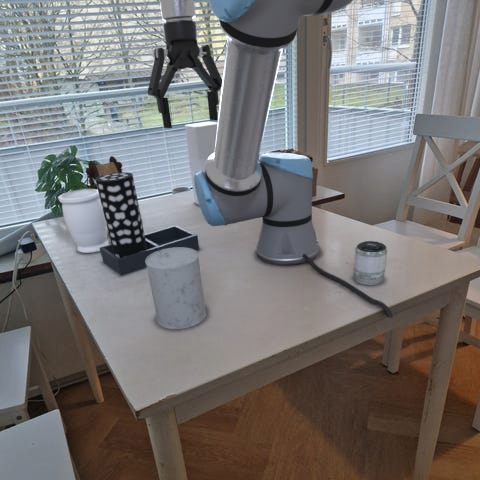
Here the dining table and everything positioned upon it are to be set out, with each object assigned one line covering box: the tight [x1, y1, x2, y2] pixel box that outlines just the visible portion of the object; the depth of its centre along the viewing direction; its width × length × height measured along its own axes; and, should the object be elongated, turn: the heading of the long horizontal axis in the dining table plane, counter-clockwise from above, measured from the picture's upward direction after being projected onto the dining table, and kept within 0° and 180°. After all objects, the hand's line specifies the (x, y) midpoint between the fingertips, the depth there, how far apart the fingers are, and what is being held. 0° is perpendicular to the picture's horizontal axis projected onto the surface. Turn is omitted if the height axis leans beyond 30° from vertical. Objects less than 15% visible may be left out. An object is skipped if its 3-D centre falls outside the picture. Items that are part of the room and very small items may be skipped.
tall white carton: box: [184, 121, 218, 206], centre depth 142 cm, size 9×9×25 cm
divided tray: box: [99, 224, 200, 277], centre depth 110 cm, size 11×22×4 cm, turn 127°
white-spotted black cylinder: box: [94, 171, 148, 259], centre depth 103 cm, size 8×8×20 cm
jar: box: [57, 188, 110, 254], centre depth 115 cm, size 11×10×15 cm
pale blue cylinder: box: [145, 247, 207, 330], centre depth 80 cm, size 10×10×12 cm
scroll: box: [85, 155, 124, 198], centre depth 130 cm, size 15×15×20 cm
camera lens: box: [353, 240, 388, 286], centre depth 89 cm, size 6×6×8 cm
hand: (191, 123), depth 108 cm, fingers open, 13 cm apart
